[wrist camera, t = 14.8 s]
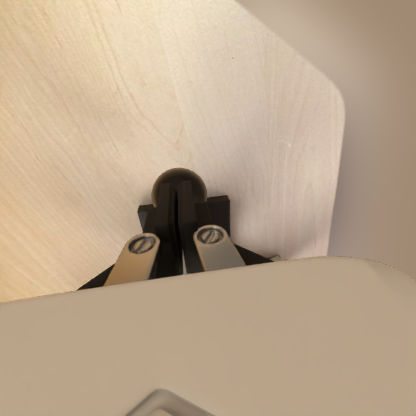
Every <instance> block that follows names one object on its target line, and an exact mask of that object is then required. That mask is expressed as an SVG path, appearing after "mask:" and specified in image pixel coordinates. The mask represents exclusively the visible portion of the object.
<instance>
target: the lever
mask: <svg viewBox="0 0 416 416" xmlns="http://www.w3.org/2000/svg"><path fill="white" fill-rule="evenodd" d="M184 181H191V186H192V192H193V199H194V203H195V202H204V201H207V189H206V186H205V184H204V182H203V180H202V179H201V178H200V176H198V175H197V174H196V173H195V172H193V171H191V170H189V169H185V168H173V169H170V170H167V171H165V172H164V173H162V174H161V175H160V176H159V177H158V178H157V180H156V181H155V183H154V185H153V189H152V202H153V205H154V207H157V204H158V198H159V191H160V185H161V184H166V183H171V185H175V189H176V195H177V202H178V185H180V184H181V182H184ZM186 274H187V273H186V267H185V261H184V255H183V275H186Z"/></svg>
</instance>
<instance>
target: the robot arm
mask: <svg viewBox="0 0 416 416" xmlns="http://www.w3.org/2000/svg"><path fill="white" fill-rule="evenodd" d="M183 255H184V261H185V267H186V273H187V274H186V275H183ZM179 275H180V276H179ZM0 416H416V281H415V280H413V279H412V278H410V277H408V276H407V275H406V274H404V273H402V272H401V271H399V270H397V269H395V268H393V267H391V266H388V265H386V264H383V263H380V262H376V261H372V260H368V259H361V258H354V257H341V256H323V257H311V258H301V259H292V260H284V261H277V262H274V261H272V260H270V259H268V258H265V257H263V256H261V255H258V254H256V253H254V252H252V251H249V250H247V249H245V248H242V247H240V246H238V245H236V244H233V242H232V241H231V239H230V237H229V236H228V234H227V232H226V231H225V230H224V229H223V228H222V227H220V226H216V225H213V221H212V217H211V213H210V210H209V206H208V202H207V201H204V202H195V203H194V199H193V192H192V186H191V181H184V182H181V184H180V185H178V202H177V195H176V189H175V185H171V183H166V184H161V185H160V191H159V198H158V204H157V207H153V208H148V211H147V215H146V220H145V224H144V229H143V233H142V234H139V235H136V236H134V237H132V238H131V239H130V240H129V241H128V242H127V243H126V244H125V246H124V248H123V250H122V252H121V254H120V255H119V257H118V259H117V261H116V263H115V264H113V265H112V266H111V267H109V268H108V269H106V270H105V271H103V272H102V273H101V274H99V275H98V276H96V277H95V278H93V279H92V280H90V281H89V282H88V283H86V284H85V285H83V286H82V287H80V288H79V289H78V290H76V291H71V292H64V293H58V294H51V295H44V296H38V297H32V298H26V299H21V300H15V301H9V302H4V303H0Z"/></svg>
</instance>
